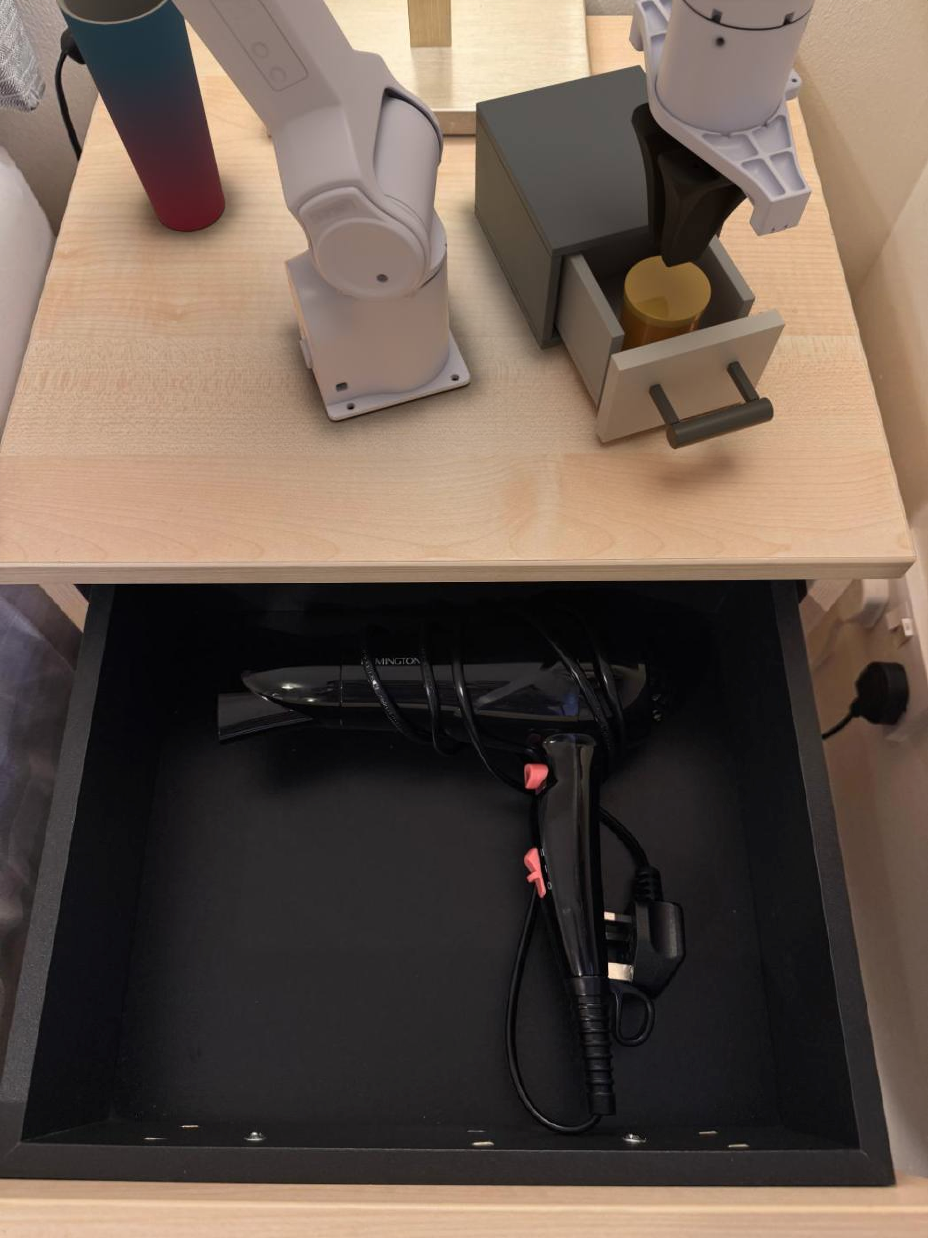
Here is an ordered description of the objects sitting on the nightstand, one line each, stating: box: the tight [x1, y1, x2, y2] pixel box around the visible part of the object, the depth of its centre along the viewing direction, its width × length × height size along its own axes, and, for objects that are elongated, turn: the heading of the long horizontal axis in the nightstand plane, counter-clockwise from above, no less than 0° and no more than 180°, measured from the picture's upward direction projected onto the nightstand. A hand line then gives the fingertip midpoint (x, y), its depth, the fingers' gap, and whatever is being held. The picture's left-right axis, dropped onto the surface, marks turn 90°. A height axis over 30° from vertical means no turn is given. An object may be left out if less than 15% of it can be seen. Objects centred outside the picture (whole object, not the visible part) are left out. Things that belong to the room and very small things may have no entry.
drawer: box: [554, 233, 786, 450], centre depth 53 cm, size 17×10×7 cm, turn 19°
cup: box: [56, 0, 226, 232], centre depth 57 cm, size 7×7×15 cm
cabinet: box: [474, 64, 725, 350], centre depth 58 cm, size 13×11×8 cm
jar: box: [618, 256, 711, 352], centre depth 53 cm, size 5×5×6 cm
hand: (674, 248), depth 49 cm, fingers closed
